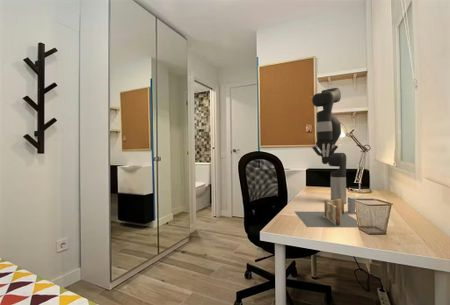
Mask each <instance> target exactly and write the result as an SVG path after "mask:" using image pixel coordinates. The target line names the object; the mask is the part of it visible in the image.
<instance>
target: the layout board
mask: <svg viewBox="0 0 450 305" xmlns="http://www.w3.org/2000/svg"><path fill="white" fill-rule="evenodd" d="M294 213H295V214H296V216H297V217H298V218H299V219H300V220H301V222H302V223H303V224H304V225H305V226H306V228H359V227H358V224H357V219H356V218H354V217H352V216H351V215H350V214H347V213H346V212H344V214H340V225H336V223H334V222H333V221H332V220H330V219H329V218H328V217H325V211H294Z"/></svg>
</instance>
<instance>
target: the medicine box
mask: <svg viewBox="0 0 450 305" xmlns="http://www.w3.org/2000/svg"><path fill="white" fill-rule="evenodd" d="M355 199H366V198H365V197H362V196H351V197H349V196H348V197H347V212H348V213H349V214H351V215H354V214H356V212H355ZM356 215H357V214H356Z"/></svg>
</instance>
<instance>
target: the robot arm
mask: <svg viewBox="0 0 450 305" xmlns="http://www.w3.org/2000/svg"><path fill="white" fill-rule="evenodd" d="M311 99H312V100H311V102H312V104H313V106H314V107H315V108H321V107H322V110H319V111H317V112H316V130H315V131H316V142H315V145H314V146H311V149H312V150H313V151H314V152H315V154H316V155H317V156H319V157H321V164H323V165H327V164H328V166H329V167H335V168H336V167H338V169H337V170H335V171H331V172H330V201H331V200H337V199H340V198H344V205H345V204H347V154H346V153H344V152H335V151H337V149H338V147H339V146H338V145H336V144H337V142H338V140H339V139H340V137H341V135H342V127H341V121H339V119H338V118H337V117H336V115H334V113H333V112H332V111H333V106H334V104H335V103H338V102H340V101H341V99H342V93H341V90H340V88H339V87H333V88H327V89H323V90H321V92H319V93H315V94H314V95H313V97H312V98H311Z"/></svg>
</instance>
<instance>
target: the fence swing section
mask: <svg viewBox="0 0 450 305" xmlns="http://www.w3.org/2000/svg"><path fill="white" fill-rule="evenodd" d="M326 215H327V217H328V218H329V219H330V220H332V221H333V222H334V223H336V225H340V207H336V206H335V205H333V204H331V203H329V202H326Z"/></svg>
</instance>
